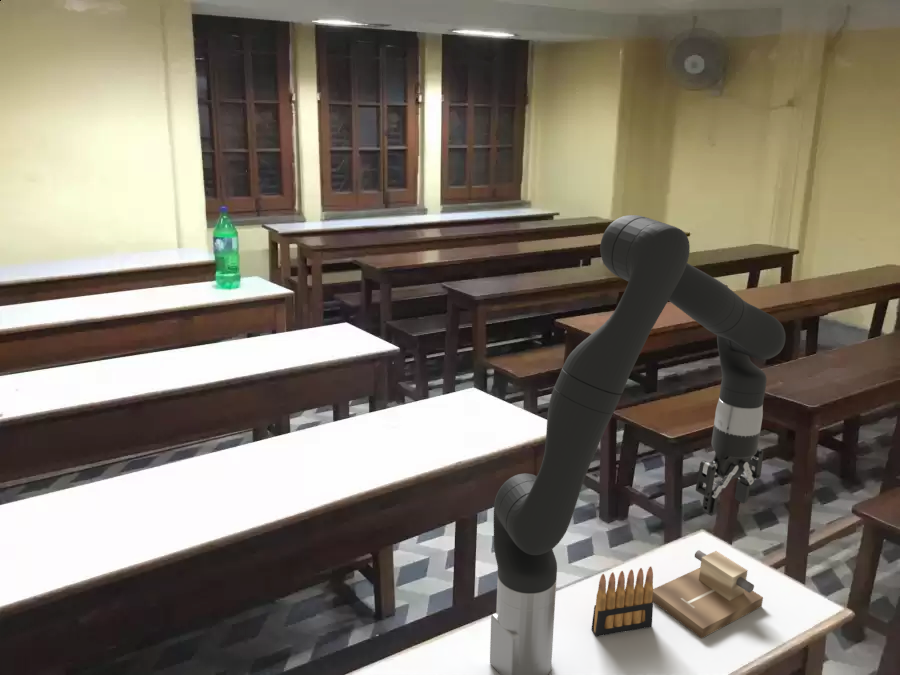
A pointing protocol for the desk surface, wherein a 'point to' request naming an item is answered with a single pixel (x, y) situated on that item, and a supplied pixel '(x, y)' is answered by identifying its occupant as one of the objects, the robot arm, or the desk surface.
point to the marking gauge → (723, 575)
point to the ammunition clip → (623, 604)
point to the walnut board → (702, 604)
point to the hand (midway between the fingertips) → (725, 507)
